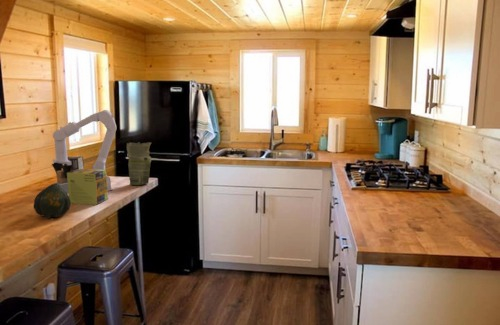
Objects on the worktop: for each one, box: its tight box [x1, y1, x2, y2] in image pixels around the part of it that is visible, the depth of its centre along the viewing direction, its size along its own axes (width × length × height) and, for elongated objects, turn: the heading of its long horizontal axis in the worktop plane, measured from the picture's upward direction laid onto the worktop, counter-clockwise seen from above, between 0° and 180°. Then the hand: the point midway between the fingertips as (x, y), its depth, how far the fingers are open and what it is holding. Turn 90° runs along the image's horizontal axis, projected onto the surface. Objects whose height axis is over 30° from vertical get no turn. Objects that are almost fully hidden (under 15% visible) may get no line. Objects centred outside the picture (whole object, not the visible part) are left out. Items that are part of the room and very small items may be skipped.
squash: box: [33, 182, 72, 220], centre depth 181 cm, size 14×15×15 cm
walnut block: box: [55, 169, 68, 184], centre depth 221 cm, size 4×4×6 cm
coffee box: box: [63, 156, 85, 171], centre depth 239 cm, size 9×6×16 cm
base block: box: [55, 182, 68, 194], centre depth 222 cm, size 7×7×6 cm
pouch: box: [126, 141, 152, 186], centre depth 239 cm, size 11×12×25 cm
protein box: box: [67, 168, 109, 206], centre depth 203 cm, size 10×15×16 cm
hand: (63, 177), depth 221 cm, fingers open, 7 cm apart
